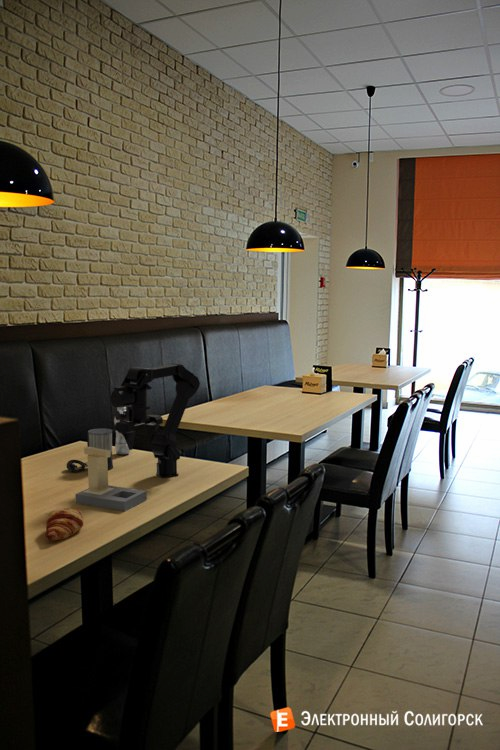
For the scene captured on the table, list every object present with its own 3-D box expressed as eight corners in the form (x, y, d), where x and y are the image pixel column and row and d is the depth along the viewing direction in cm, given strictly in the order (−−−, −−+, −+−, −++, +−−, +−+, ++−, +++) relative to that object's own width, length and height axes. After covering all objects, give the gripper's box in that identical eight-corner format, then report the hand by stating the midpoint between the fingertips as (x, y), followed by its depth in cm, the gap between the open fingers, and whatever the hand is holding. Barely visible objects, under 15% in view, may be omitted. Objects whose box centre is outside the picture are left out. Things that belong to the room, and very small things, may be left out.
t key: (92, 485, 215) (91, 445, 213) (114, 490, 210) (113, 449, 208) (82, 488, 211) (81, 448, 210) (104, 494, 206) (103, 452, 204)
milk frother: (118, 467, 249) (117, 429, 248) (87, 477, 236) (86, 437, 234) (92, 462, 257) (91, 425, 255) (61, 471, 244) (60, 433, 242)
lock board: (146, 499, 210) (146, 490, 210) (124, 511, 199) (124, 501, 199) (99, 492, 218) (99, 483, 217) (75, 503, 207) (75, 493, 207)
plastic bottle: (117, 456, 265) (116, 408, 262) (113, 453, 271) (111, 406, 268) (132, 455, 268) (131, 407, 265) (128, 451, 274) (126, 405, 271)
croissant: (70, 529, 194) (57, 506, 194) (98, 514, 193) (85, 491, 192) (41, 556, 173) (26, 530, 173) (73, 540, 172) (58, 514, 171)
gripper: (140, 397, 237) (141, 439, 239) (102, 405, 222) (103, 449, 224) (163, 400, 231) (164, 443, 233) (126, 408, 216) (127, 453, 218)
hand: (139, 447), depth 227 cm, fingers open, 9 cm apart
